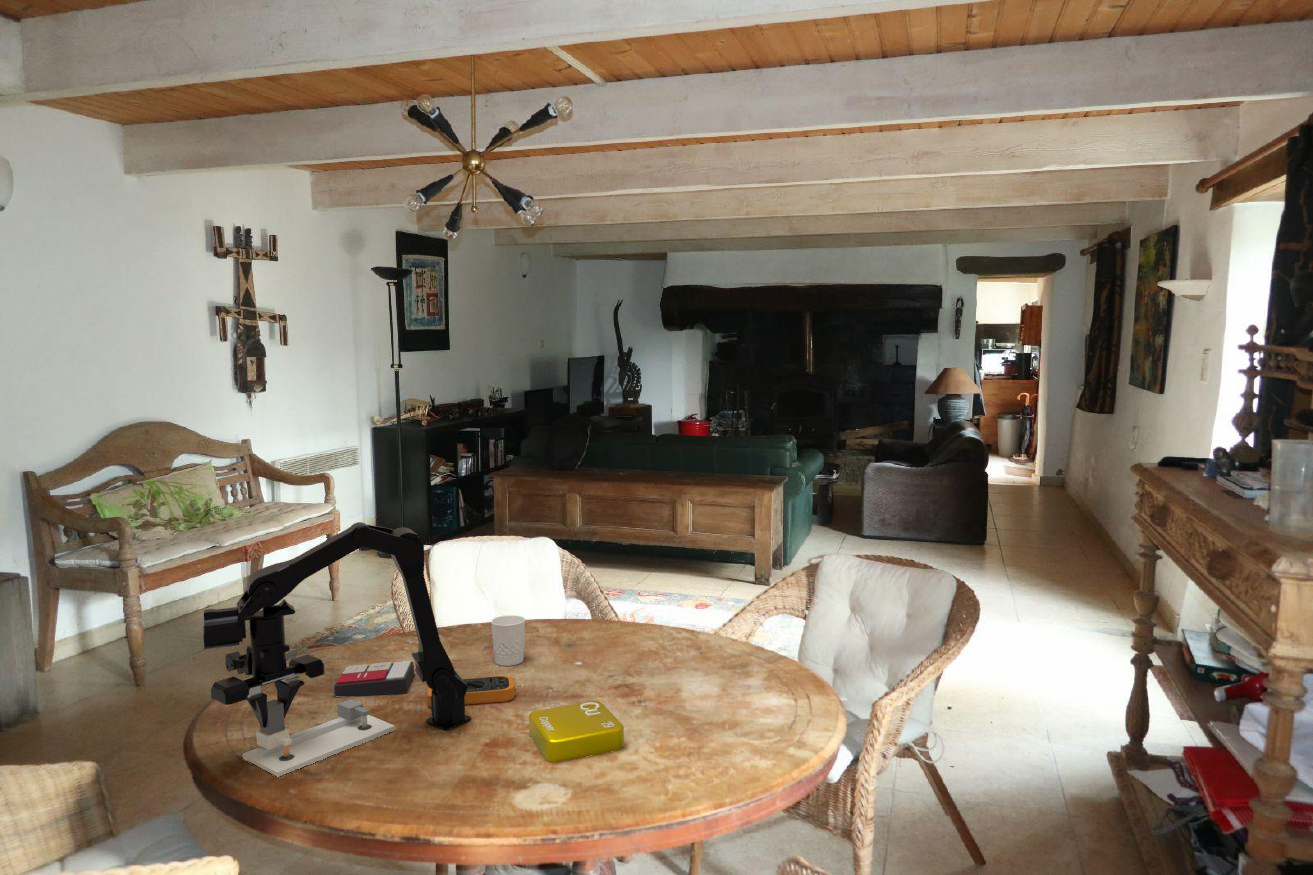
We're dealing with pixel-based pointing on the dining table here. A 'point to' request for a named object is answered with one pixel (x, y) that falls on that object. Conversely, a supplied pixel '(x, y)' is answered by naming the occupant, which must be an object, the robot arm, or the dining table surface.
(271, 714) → the block
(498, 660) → the white cup
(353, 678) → the calculator
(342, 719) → the plate
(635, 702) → the dining table surface
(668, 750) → the dining table surface
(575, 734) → the element tile
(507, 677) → the multimeter
